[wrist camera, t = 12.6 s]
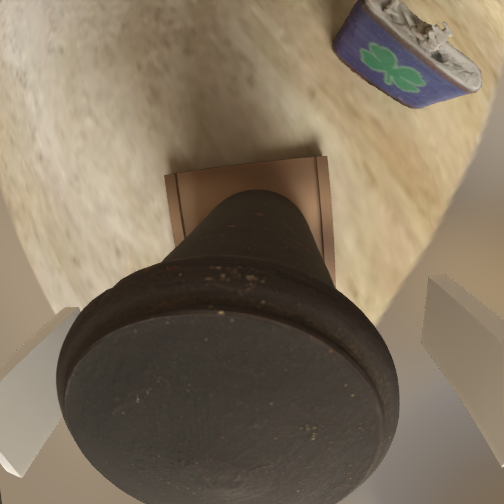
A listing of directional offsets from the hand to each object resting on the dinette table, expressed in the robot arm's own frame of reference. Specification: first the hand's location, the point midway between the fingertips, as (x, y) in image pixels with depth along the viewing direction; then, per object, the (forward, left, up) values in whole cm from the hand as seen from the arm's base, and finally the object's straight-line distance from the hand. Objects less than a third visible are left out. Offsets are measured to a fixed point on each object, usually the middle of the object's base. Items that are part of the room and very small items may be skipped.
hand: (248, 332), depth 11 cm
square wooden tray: (0, 0, -16) cm, 16 cm away
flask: (-16, -7, -16) cm, 23 cm away
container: (0, 0, -14) cm, 14 cm away
